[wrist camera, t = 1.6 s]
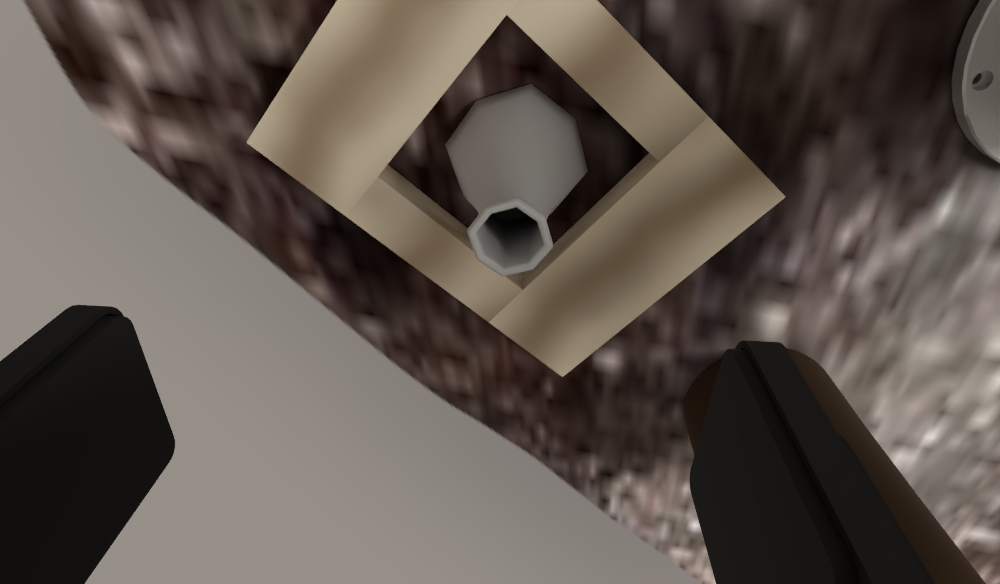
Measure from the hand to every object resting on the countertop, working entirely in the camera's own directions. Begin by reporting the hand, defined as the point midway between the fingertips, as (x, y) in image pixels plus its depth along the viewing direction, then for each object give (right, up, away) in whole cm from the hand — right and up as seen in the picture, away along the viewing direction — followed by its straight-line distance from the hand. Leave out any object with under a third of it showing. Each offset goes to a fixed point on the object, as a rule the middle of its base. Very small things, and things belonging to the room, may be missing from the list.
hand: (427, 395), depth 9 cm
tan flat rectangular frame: (+2, +9, +22) cm, 23 cm away
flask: (+2, +9, +22) cm, 24 cm away
